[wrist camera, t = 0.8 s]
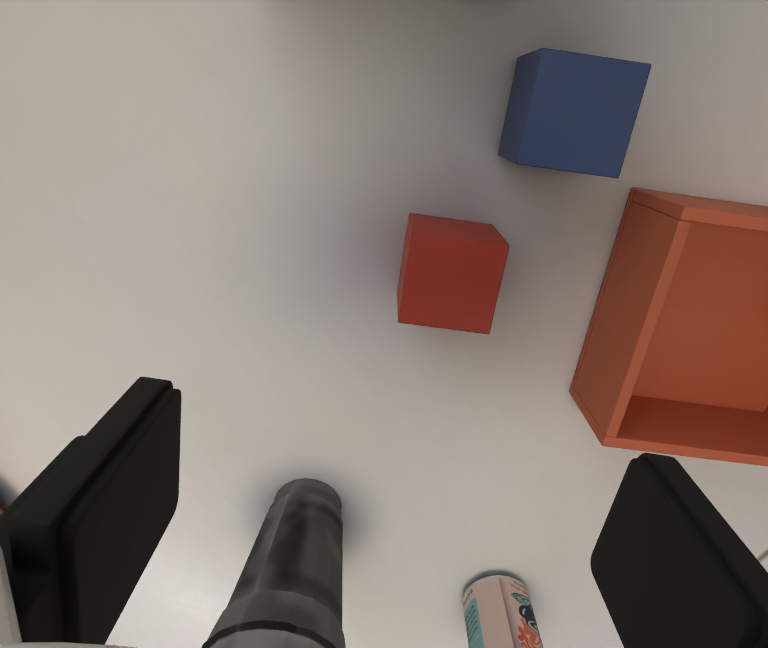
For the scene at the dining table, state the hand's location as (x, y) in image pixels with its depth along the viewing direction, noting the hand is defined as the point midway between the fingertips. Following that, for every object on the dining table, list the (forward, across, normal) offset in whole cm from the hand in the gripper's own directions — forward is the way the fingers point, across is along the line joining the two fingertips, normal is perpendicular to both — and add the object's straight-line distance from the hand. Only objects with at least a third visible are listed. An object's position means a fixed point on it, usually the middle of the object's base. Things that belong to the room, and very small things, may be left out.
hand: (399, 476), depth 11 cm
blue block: (+19, -6, -8) cm, 22 cm away
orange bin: (+19, -18, +1) cm, 26 cm away
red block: (+20, -3, 0) cm, 20 cm away
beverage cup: (+20, +3, +18) cm, 27 cm away
